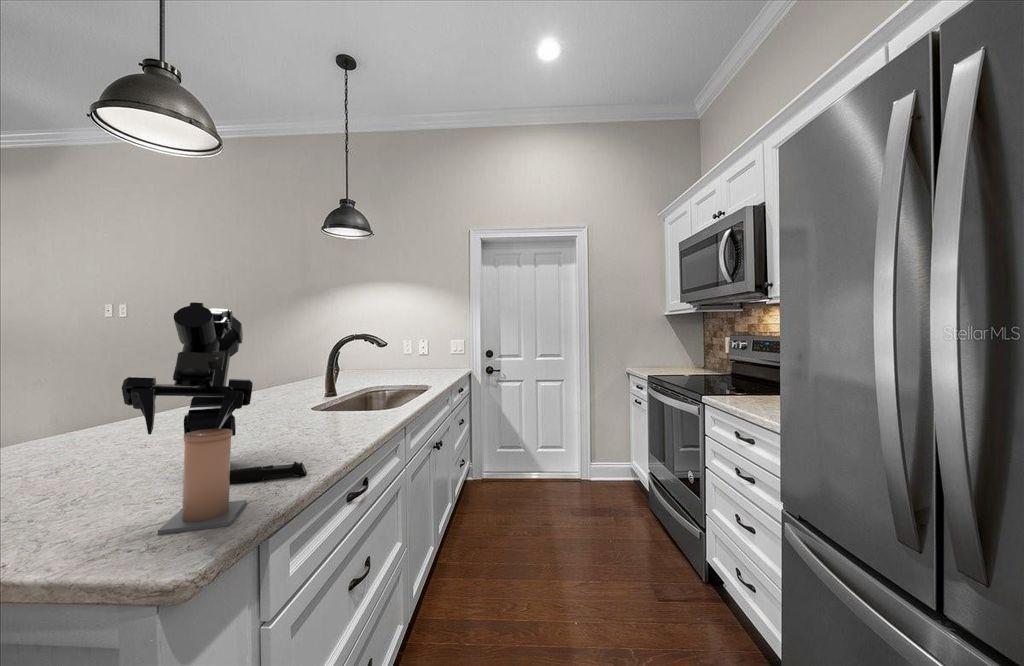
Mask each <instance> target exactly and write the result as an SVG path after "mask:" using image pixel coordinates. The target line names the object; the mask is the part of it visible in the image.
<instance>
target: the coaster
mask: <svg viewBox="0 0 1024 666" xmlns="http://www.w3.org/2000/svg"><path fill="white" fill-rule="evenodd" d="M247 503H248V501H247V499H244V500H243V499H242V500H233V501H229V510H228V512H226V513H225V514H223V515H221V516H219V517H216V518H213V519H209V520H205V521H197V522H188V521H184V520H183V519H182V511H183V507H182V508H181V509H180V510H178V512H176V513H175V515H173V516H172V517H171V518H170V519H169V520H168V521H166V522H165V523H164V524H162V526H161V527H160V528H159V529H157V535H165V534H174V533H180V532H190V531H198V530H205V529H206V530H207V529H214V528H215V529H216V528H223V527H230V526H231V524H232V523H233V522H234V520H236V518H237V517H238V516H239V515H240V513H241V511H242V510H243V508H245V506H246V505H247Z"/></svg>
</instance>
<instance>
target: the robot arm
mask: <svg viewBox="0 0 1024 666" xmlns="http://www.w3.org/2000/svg"><path fill="white" fill-rule="evenodd" d="M173 321H174V325H175V329H176V333H177V335H178V338H179V339H178V340H179V342H180V343H181V344H182V345H183V346H182V350H181V351H179V352H177V357H176V363H175V366H174V367H175V368H174V372H173V376H172V380H173V381H174V384H172V383H171V384H168V383H157V381H156V380H157V379H156V376H148V375H147V376H146V375H144V376H142V375H139V376H138V375H129V376H128V377H127V378H125V379H124V380H123V382H122V385H121V393H122V397H123V402H124V405H127V406H132V408H133V409H134V410H140V411H141V413H142V415H143V417H144V420H145V425H146V431H147V435H152V433H153V430H154V426H155V424H154V423H155V415H156V414H155V413H156V402H155V401H156V399H157V396H162V397H163V396H165V397H167V396H169V397H189V398H190V397H192V398H191V400H190V404H189V409H188V412H187V413H185V414H184V417H183V433H184V435H185V434H187V433H190V432H194V431H199V430H206V429H231V430H232V437H235V436H236V428H237V427H236V417H235V415H233V413H234V411H235V410H240V409H242V407H243V406H246V407H247V406H249V405H251V400H252V395H253V394H252V392H253V384H254V383H253V381H252V380H250V379H244V378H243V379H242V378H240V379H239V378H238V379H237V378H229V379H228V372H229V368H230V367H229V366H230V362H231V361H230V360H231V358H232V357H233V356H234V355H235V354H237V353H238V352H239V349H240V344H243V340H244V339H243V338H244V337H243V336H244V335H243V333H244V332H243V325H242V322H240V321H239V320H238V319H237V318H236V317H234V315H233V310H232V309H229V308H209V309H208V308H207V307H205V306H204V302H198V301H197V302H196V301H190V303H189V305H188V306H184V307H182V308H179V309H177V311H176V312H174V313H173ZM227 380H228V385H227ZM184 435H183V436H184Z"/></svg>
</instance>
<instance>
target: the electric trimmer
mask: <svg viewBox="0 0 1024 666" xmlns="http://www.w3.org/2000/svg"><path fill="white" fill-rule="evenodd" d="M306 476H307V469H306V467H305V465H304V463H303V462H302V461H301V462H297V461H293V463H290V464H281V465H279V464H278V465H273V464H271V465H266V466H264V465H263V466H253V467H246V468H236V469H230V483H251V482H252V483H253V482H255V483H256V482H260V481H262V480H271V479H280V478H288V477H299V478H302V477H306Z"/></svg>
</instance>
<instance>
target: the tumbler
mask: <svg viewBox="0 0 1024 666" xmlns="http://www.w3.org/2000/svg"><path fill="white" fill-rule="evenodd" d="M232 437H233V436H232V430H231V429H206V430H199V431H194V432H190V433H187V434H185V435H183V442H184V455H183V456H184V457H183V486H182V487H183V488H182V490H183V491H182V508H183V511H182V519H183V520H184V521H188V522H197V521H205V520H209V519H213V518H216V517H219V516H221V515H223V514H225V513H226V512H228V510H229V502H230V483H231V482H230V470H231V452H232V451H231V450H232V448H231V446H232Z"/></svg>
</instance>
